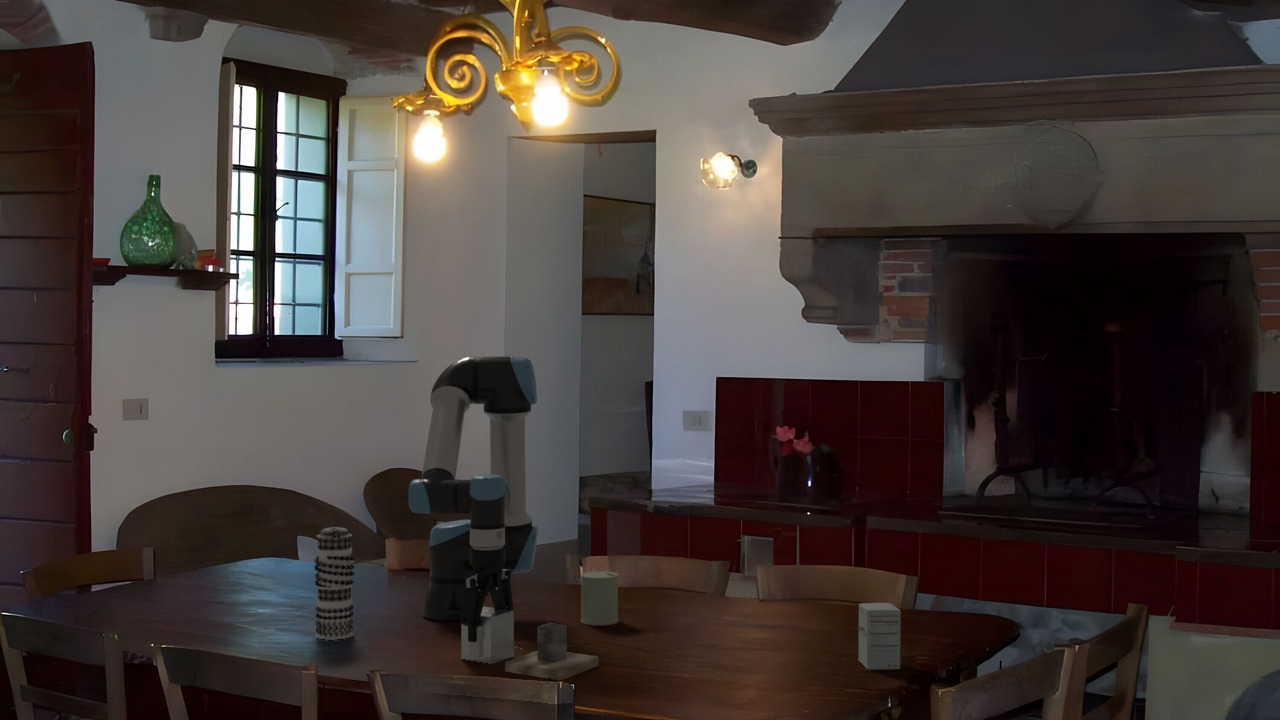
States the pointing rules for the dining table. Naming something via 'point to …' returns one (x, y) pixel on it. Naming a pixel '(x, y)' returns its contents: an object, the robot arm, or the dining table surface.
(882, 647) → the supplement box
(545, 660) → the post board
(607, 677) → the dining table surface
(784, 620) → the dining table surface
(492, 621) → the grey foam block
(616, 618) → the can
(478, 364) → the robot arm
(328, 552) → the white and black cylinder
